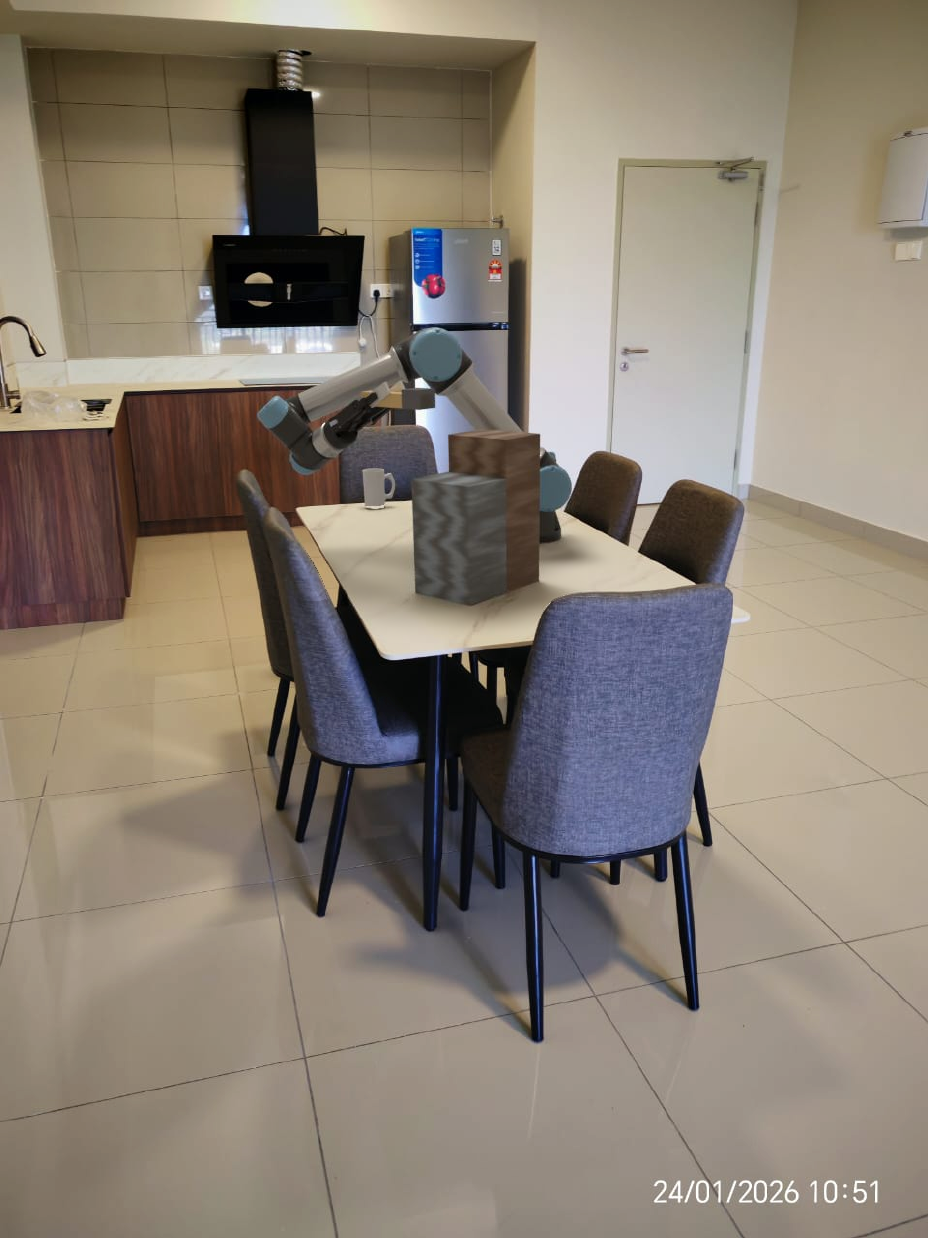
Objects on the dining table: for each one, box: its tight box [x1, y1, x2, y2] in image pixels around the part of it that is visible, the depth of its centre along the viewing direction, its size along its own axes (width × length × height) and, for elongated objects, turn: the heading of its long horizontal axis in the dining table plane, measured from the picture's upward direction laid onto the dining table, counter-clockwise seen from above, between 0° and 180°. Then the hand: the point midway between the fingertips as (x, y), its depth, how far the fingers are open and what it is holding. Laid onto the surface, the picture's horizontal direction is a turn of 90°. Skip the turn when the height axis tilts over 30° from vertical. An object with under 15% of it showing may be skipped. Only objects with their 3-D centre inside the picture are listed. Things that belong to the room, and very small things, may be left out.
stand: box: [410, 429, 541, 607], centre depth 202 cm, size 16×24×33 cm, turn 139°
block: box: [361, 387, 436, 411], centre depth 200 cm, size 18×5×4 cm, turn 49°
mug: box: [362, 467, 396, 507], centre depth 291 cm, size 10×7×12 cm, turn 95°
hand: (395, 386), depth 200 cm, fingers closed on block, 4 cm apart
